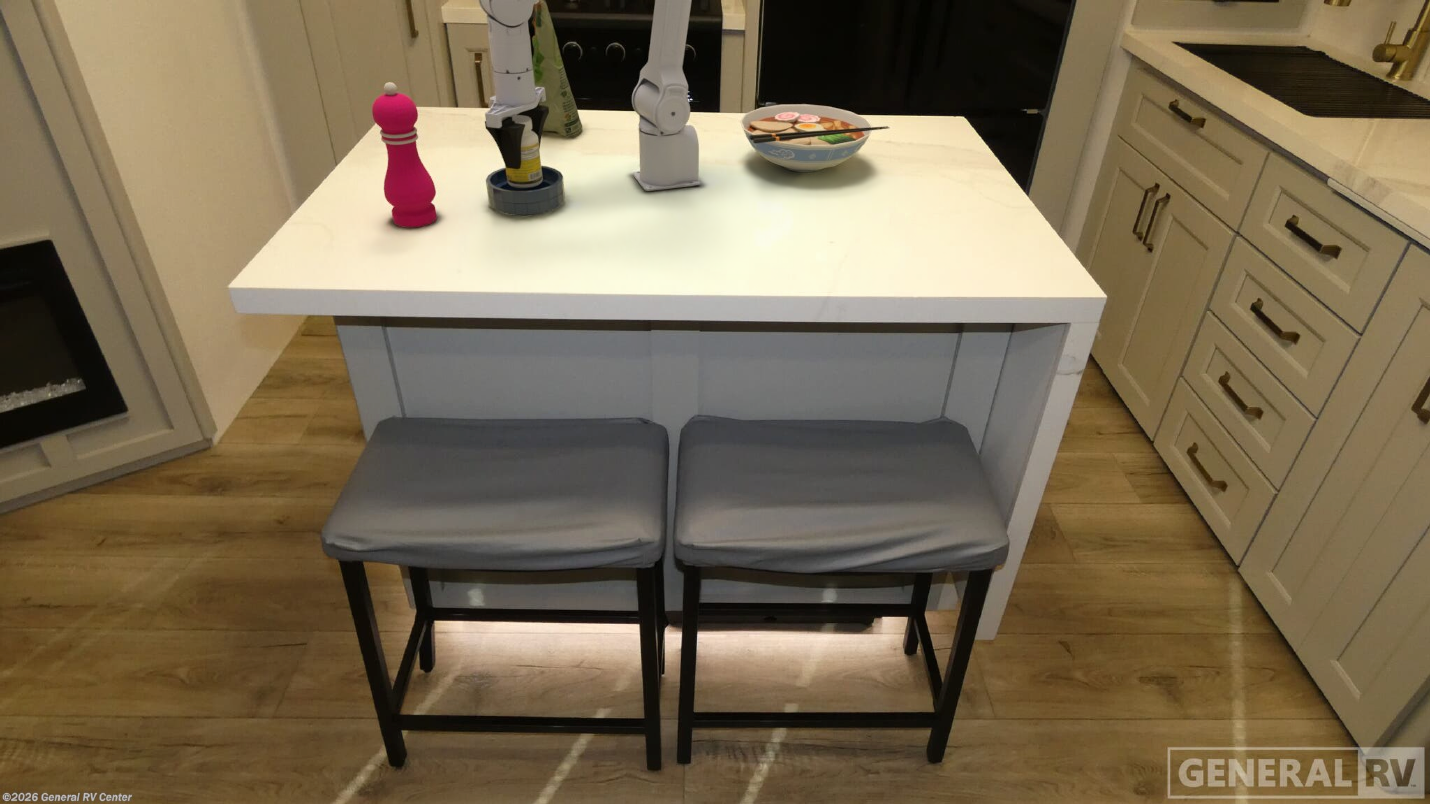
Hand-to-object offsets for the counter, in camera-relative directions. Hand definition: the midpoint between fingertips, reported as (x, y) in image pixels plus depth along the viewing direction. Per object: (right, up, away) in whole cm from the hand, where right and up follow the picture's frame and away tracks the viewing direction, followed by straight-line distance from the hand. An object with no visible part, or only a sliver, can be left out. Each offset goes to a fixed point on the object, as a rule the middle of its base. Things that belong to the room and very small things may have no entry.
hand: (522, 161), depth 132 cm
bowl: (0, -6, +4) cm, 7 cm away
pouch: (-2, +15, +33) cm, 36 cm away
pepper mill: (-16, -9, -2) cm, 18 cm away
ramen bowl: (+45, +5, +21) cm, 50 cm away
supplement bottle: (0, -3, +2) cm, 4 cm away
